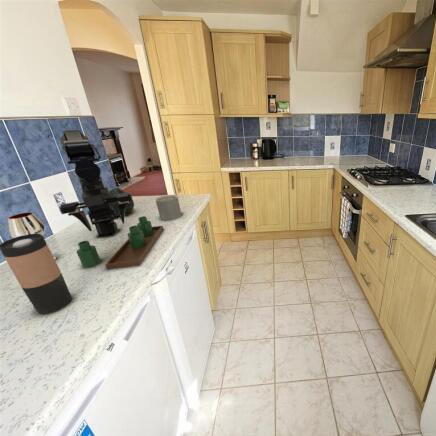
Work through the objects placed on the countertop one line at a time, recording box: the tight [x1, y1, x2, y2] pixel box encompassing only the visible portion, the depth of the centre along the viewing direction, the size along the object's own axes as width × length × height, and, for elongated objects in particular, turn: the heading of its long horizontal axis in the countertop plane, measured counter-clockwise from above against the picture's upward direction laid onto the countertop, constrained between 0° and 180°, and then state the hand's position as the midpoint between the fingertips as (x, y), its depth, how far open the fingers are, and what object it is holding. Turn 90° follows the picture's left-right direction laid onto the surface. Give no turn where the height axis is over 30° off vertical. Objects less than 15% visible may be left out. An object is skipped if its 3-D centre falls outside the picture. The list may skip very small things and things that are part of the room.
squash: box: [108, 187, 135, 217], centre depth 125 cm, size 14×15×15 cm
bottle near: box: [136, 215, 154, 238], centre depth 102 cm, size 5×5×8 cm
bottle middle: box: [127, 225, 146, 249], centre depth 94 cm, size 5×5×8 cm
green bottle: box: [76, 240, 102, 269], centre depth 83 cm, size 5×5×8 cm
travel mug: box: [0, 234, 73, 315], centre depth 63 cm, size 8×8×20 cm
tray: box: [104, 225, 165, 270], centre depth 95 cm, size 10×29×2 cm, turn 11°
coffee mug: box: [155, 194, 182, 221], centre depth 123 cm, size 13×10×10 cm
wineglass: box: [7, 211, 57, 261], centre depth 83 cm, size 8×8×18 cm
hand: (107, 227), depth 82 cm, fingers open, 9 cm apart
